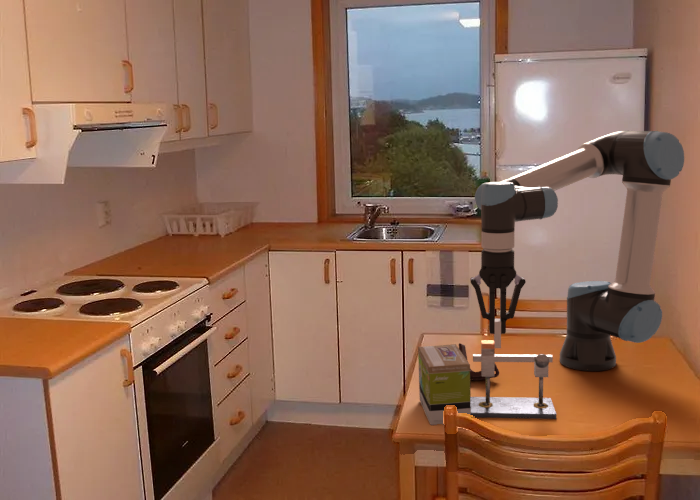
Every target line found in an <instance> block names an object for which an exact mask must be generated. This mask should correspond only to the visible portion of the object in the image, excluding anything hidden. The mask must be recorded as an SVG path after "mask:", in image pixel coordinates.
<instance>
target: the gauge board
mask: <svg viewBox="0 0 700 500" xmlns="http://www.w3.org/2000/svg"><path fill="white" fill-rule="evenodd" d="M471 415H473V416H475V417H474V418H476V417H477V418H479V419H480V418H481V419H483V418H486V419H488V418H489V419H533V420H534V419H538V420H539V419H543V420H557V411H556V409H555V406H554V402H553V401H552V398H551V397H543V404H539V397H520V396H519V397H509V396H508V397H507V396H490V403H486V396H471Z"/></svg>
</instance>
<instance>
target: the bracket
mask: <svg viewBox="0 0 700 500" xmlns="http://www.w3.org/2000/svg"><path fill="white" fill-rule="evenodd" d="M458 348H459V350H460V351H461V352H462V354H463V355H464V357H465V358H466V360H467V361H468V355H467V349H466V344H463V343H461V342H459V343H458ZM499 370H500V369H498V367H497V364H496V363H495V376H494V377H490V379H495V378H498V377H499V375H500V371H499ZM480 380H486V377H482V375H481V370H480V371H474V370H473V369H471V368H470V381H480Z"/></svg>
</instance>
